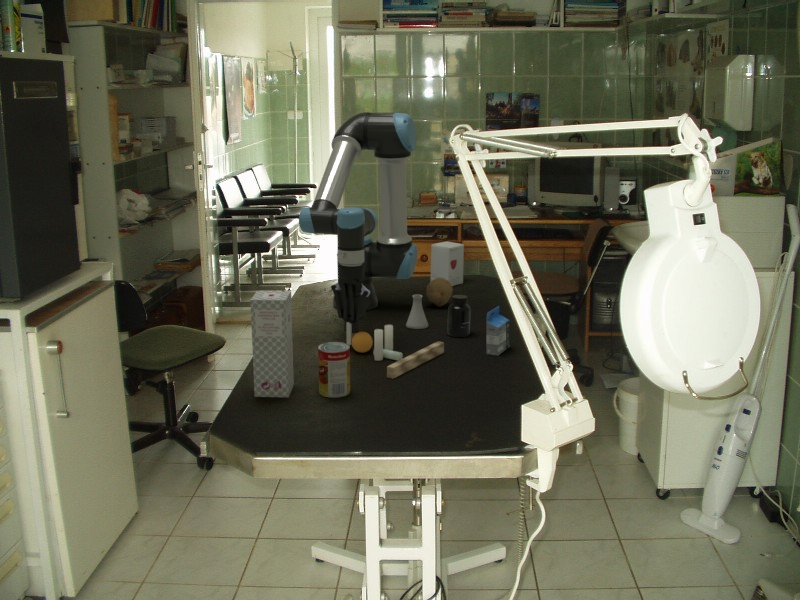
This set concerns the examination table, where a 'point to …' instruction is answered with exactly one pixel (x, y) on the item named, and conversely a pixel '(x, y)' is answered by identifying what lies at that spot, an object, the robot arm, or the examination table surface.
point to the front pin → (392, 354)
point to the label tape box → (497, 333)
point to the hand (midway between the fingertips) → (351, 343)
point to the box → (272, 343)
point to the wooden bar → (415, 359)
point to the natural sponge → (439, 291)
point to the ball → (362, 342)
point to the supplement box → (447, 262)
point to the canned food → (334, 369)
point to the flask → (417, 314)
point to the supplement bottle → (459, 317)
